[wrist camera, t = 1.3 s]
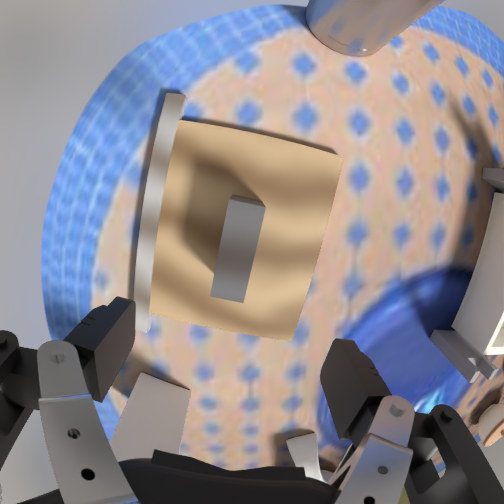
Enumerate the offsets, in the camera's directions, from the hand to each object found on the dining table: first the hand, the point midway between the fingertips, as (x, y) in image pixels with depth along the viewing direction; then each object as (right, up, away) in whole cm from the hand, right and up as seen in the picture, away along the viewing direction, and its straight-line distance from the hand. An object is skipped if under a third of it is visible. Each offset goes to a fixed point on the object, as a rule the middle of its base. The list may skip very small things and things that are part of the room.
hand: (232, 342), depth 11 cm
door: (-1, +5, +18) cm, 18 cm away
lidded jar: (+58, -36, +30) cm, 75 cm away
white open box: (+38, +1, +19) cm, 42 cm away
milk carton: (-12, -16, +23) cm, 31 cm away
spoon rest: (+11, -36, +30) cm, 48 cm away
